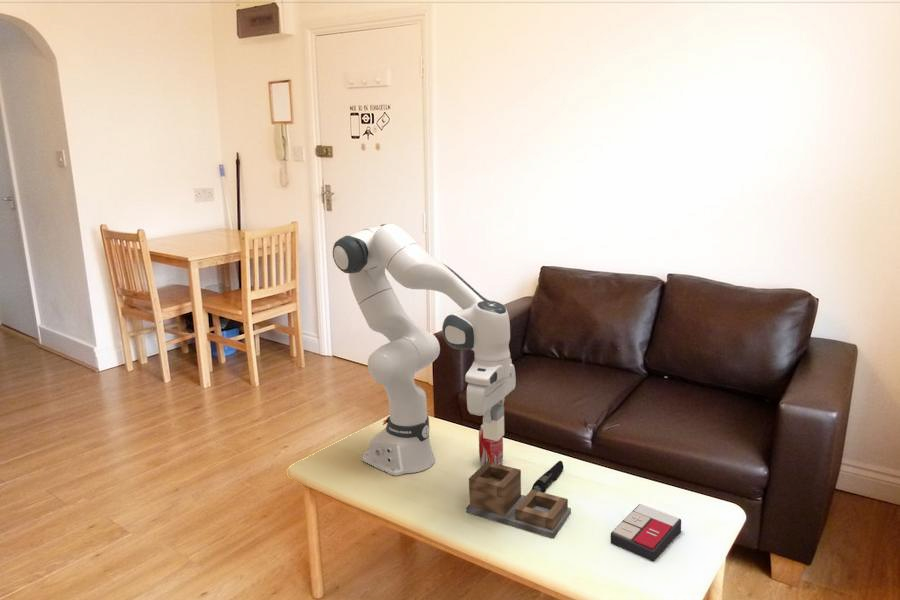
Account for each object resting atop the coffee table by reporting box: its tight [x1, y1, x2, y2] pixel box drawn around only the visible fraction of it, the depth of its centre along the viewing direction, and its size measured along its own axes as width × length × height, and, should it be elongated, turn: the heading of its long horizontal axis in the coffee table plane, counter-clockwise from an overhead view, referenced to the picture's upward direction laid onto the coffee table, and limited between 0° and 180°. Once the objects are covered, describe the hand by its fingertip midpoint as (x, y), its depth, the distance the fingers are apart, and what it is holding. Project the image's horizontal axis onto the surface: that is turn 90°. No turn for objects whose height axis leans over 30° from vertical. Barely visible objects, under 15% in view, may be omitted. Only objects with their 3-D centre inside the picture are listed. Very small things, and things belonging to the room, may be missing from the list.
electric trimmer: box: [531, 460, 564, 493], centre depth 181 cm, size 4×16×3 cm, turn 146°
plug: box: [482, 404, 505, 441], centre depth 163 cm, size 4×4×8 cm
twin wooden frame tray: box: [465, 461, 572, 539], centre depth 165 cm, size 24×12×10 cm, turn 59°
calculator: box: [610, 503, 682, 562], centre depth 154 cm, size 11×4×15 cm
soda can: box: [478, 423, 504, 465], centre depth 190 cm, size 7×7×12 cm
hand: (493, 417), depth 163 cm, fingers closed on plug, 4 cm apart
